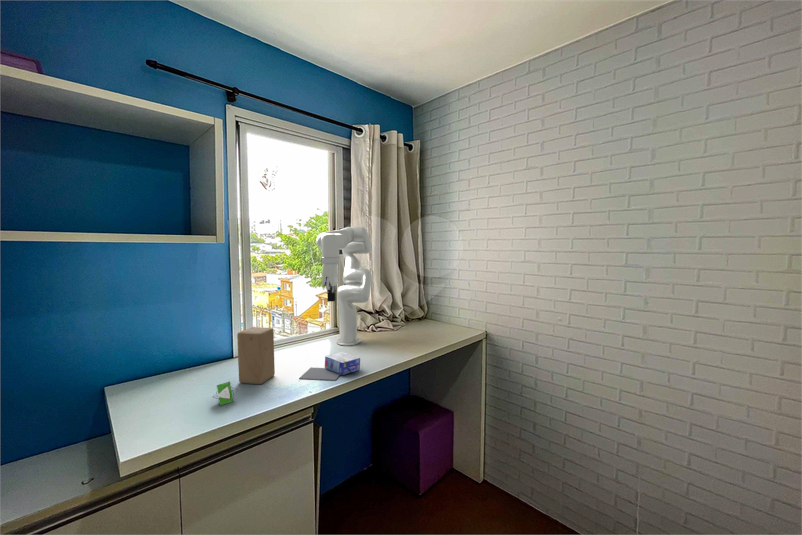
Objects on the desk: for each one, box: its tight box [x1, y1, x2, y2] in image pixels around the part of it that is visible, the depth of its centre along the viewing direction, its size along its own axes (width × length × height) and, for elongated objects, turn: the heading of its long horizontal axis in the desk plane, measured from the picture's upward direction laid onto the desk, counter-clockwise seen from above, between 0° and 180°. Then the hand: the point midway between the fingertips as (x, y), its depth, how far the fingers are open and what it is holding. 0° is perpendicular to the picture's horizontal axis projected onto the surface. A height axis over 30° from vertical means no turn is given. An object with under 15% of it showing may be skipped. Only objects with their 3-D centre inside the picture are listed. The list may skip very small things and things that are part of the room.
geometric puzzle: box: [212, 381, 239, 406], centre depth 115 cm, size 7×7×8 cm
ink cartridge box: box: [324, 351, 361, 376], centre depth 144 cm, size 10×6×14 cm
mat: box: [298, 367, 341, 382], centre depth 140 cm, size 12×15×1 cm
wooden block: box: [236, 326, 276, 385], centre depth 134 cm, size 10×10×20 cm
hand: (331, 301), depth 156 cm, fingers closed
